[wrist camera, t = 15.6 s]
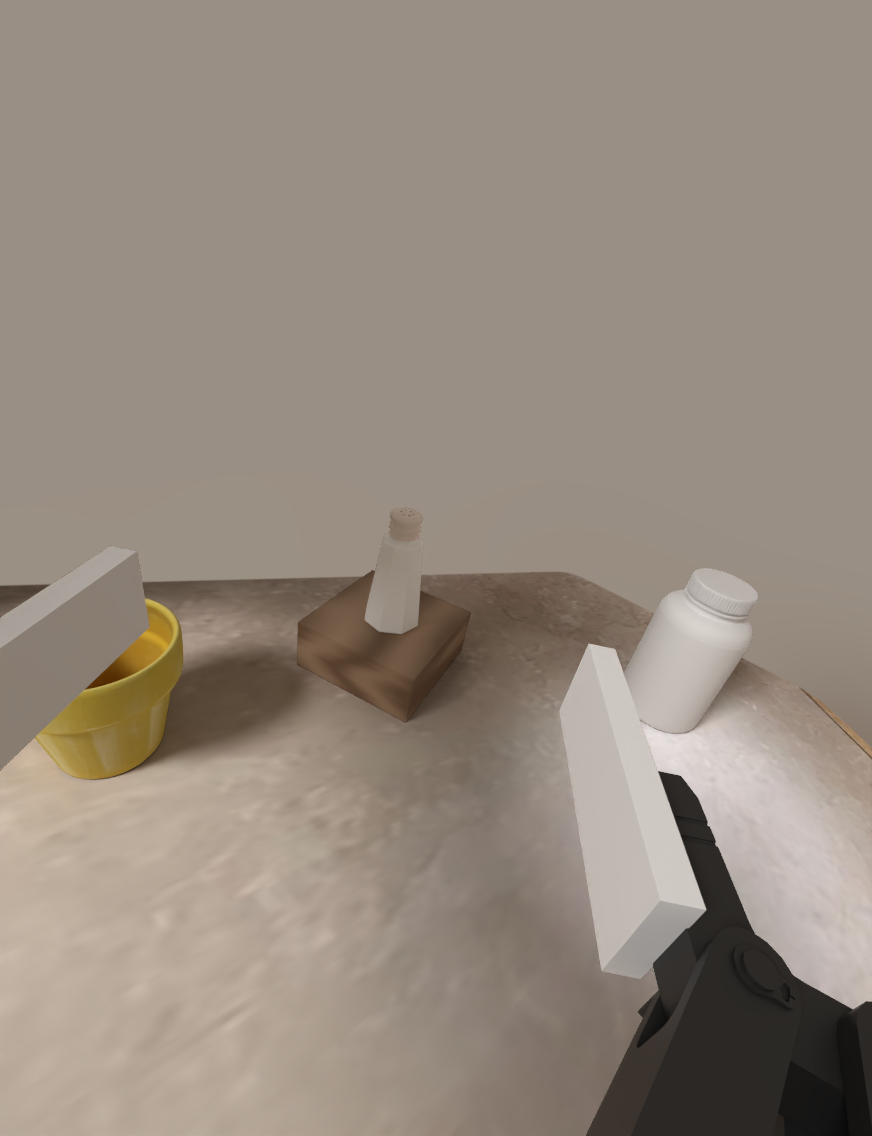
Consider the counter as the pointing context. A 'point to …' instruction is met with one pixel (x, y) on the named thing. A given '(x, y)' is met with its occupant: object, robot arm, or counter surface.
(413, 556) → the pepper shaker
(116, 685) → the plant pot
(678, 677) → the pill bottle
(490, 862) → the counter surface
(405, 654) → the walnut base
